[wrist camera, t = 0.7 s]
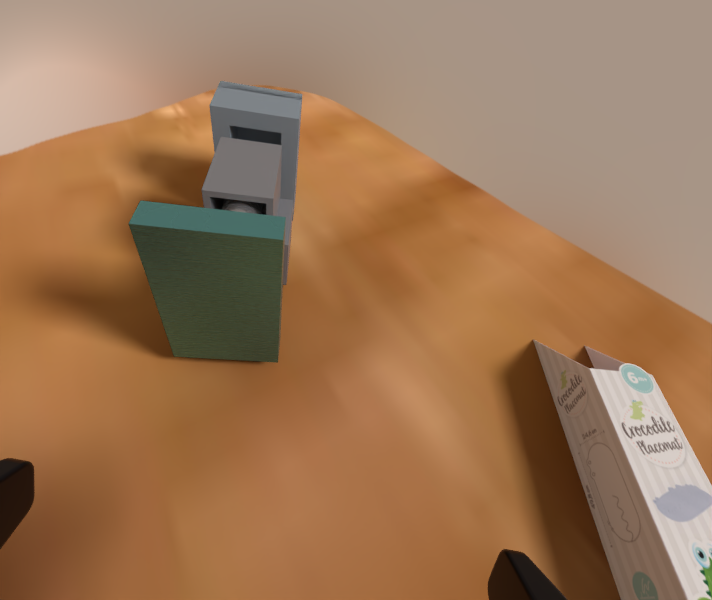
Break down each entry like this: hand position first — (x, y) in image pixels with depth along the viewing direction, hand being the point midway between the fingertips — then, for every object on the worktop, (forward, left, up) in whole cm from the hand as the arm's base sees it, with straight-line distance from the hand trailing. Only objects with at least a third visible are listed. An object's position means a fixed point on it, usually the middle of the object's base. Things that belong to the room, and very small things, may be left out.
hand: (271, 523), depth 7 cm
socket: (+21, +19, -14) cm, 31 cm away
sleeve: (+15, +15, -14) cm, 25 cm away
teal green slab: (+12, +13, -13) cm, 22 cm away
